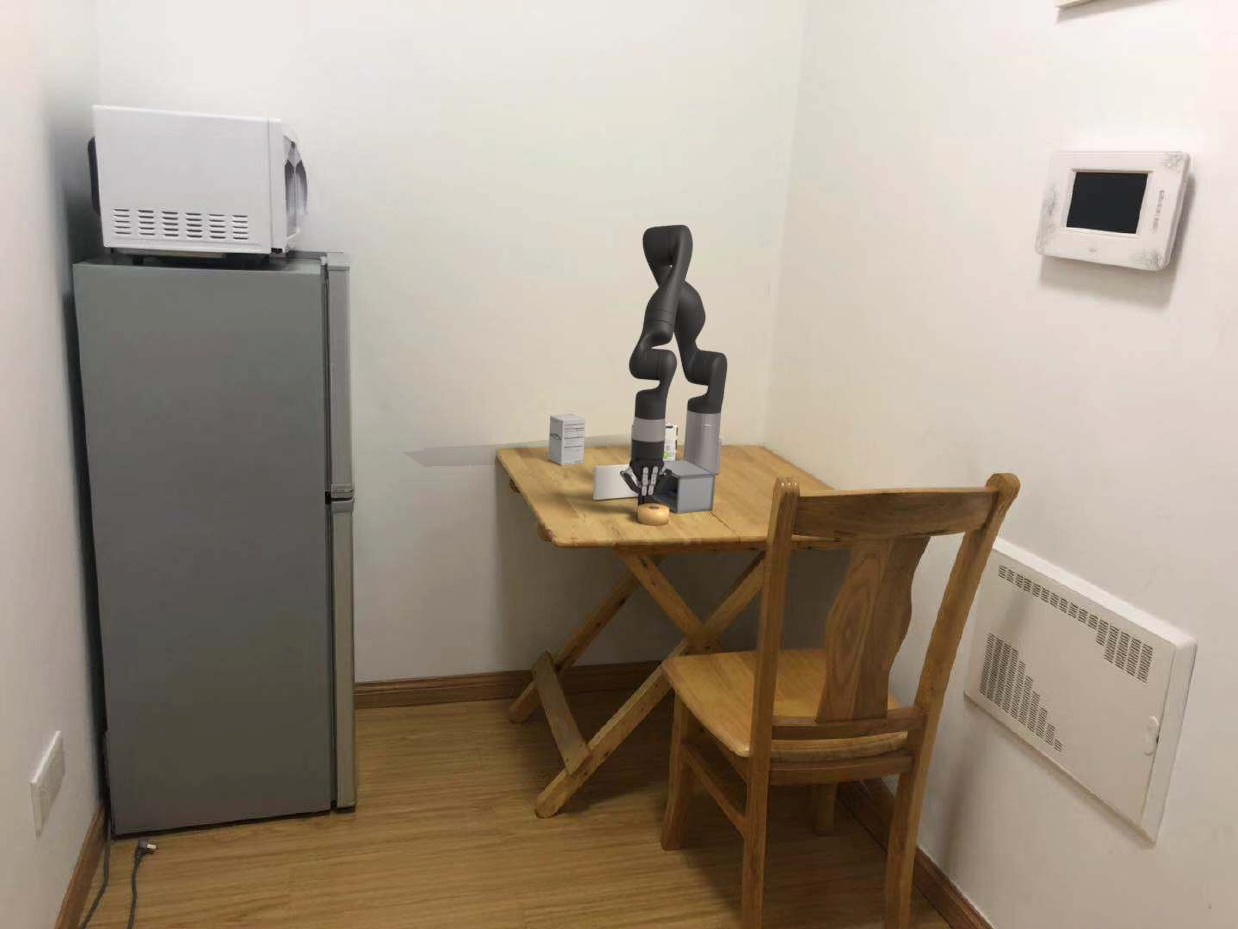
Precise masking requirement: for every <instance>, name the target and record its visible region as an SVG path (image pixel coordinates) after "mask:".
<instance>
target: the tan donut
mask: <svg viewBox="0 0 1238 929" xmlns="http://www.w3.org/2000/svg"><path fill="white" fill-rule="evenodd" d="M637 507H638V506H637ZM669 517H670V509H669V508H668V507H667V506H664V505H662V504H661V503H652V502H651V503H647V504H642V505H639V507H638V511H637V522H639V521H640V522H641V524H643V523H644V524H643V525H646V524H647V526H648V525H649V526H654V525H657V526H658V525H659V526H665V525H667V524H669V519H670V518H669ZM640 522H639V523H640ZM657 526H656V527H657Z"/></svg>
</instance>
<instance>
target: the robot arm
mask: <svg viewBox="0 0 1238 929" xmlns="http://www.w3.org/2000/svg"><path fill="white" fill-rule="evenodd" d="M642 234H643V235H642V249H643V254H644V256H645V259H646V263H647V265H648V268H649V270H650V271H651V273H652V274H651V275H652V276H653V278H654V280H655V283H656V285H657V289H656V290H655V291H654V292H653V294H652V295H651V297H650V298H649V300H648V301H647V304H646V306H645V311H644V316H643V322H642V323H643V324H642V330H641V334H640V336H639V339H637V340H638V341H637V343H636V345H635V347H634V348H633V350H632V352H631V355H630V357H629V361H628V369H629V372H630V375H631V376H632V377H633V378H634V379H637V380H645V381H657V382H658V381H659V382H658V385H657V386H656V387H654V388H648V389H640V390H638V391H637V392H636V395H635V400H634V417H633V421H632V425H633V428H632V427H631V430H632V445H631V444H630V455H631V461H630V460H629V462H628V464H629V467H628V468H627V469H626V470H625V471H621V472H620V475H621V477H622V478H623V479H624V481H625V482H626V484H627V485H628V486H629V488H630V489H631V490H632V491H634V492H635V493H638V496H637V507H639V505H642V504H647V503H652V500H653V499H652V494H653V493H654V492H656V491H657V492H658V491H660V489H661V488H662V487H663V485H664V484H665V483H666V481H667V480H668V478H669V477H670V476H671V474H672V470H670V469H668V468H667V467H665V466H664V461H663V457H664V447H665V435H666V424H665V423H666V414H667V400H668V394H669V392H670V391H669V390H670V388H671V385H672V381H673V380H674V376H675V374H676V371H677V367H678V358H677V356H676V354H675V353H674V351H672V350H671V349H667V348H666V349H662V348H655V347H660V346H665V345H667V344H670V343H671V341H672V339H673V337H674V338H675V341H676V344H677V348H678V355H679V357H680V362H681V363H680V364H681V368H682V371H683V375H684V378H685V379H686V381H687V382H689V383H690V384H693V385H699V386H705V387H707V389H706V392H705V393H703V394H701V395H698V396H694V397H690V398H689V399H688V400H687V405H686V416H685V418H686V419H685V428H684V429H685V433H684V446H683V456H682V457H683V458H682V460H688V461H690V462H692V463H694V464H696V465H698V466H700V467H702V468H705V469H707V470H709V471H711V472H713V473H715V474H716V475H719V474H720V468H721V458H722V456H721V455H722V444H723V440H722V439H721V438H720V432H721V431H720V429H721V419H722V410H723V408H722V406H723V402H724V398H725V397H724V396H725V390H726V381H727V374H728V359H727V355H726V354H725V353H723V352H718V351H714V350H713V351H712V350H703V349H700V348H699V347H698V346H697V339H698V337H699V335H700V333H701V331H702V330H703V328H704V326H705V323H706V318H707V317H706V315H707V314H706V311H705V310H706V309H705V306H704V303H703V300H702V297H701V295H700V293H699V292H698V291H697V289H695V287H694V286H693V285H692V284H690V283H689V282H688V281H686V278H687V275H688V271H689V268H690V265H691V260H692V257H693V250H694V241H693V235H692V232H691V230H690V228H689V227H688V226H687V225H685V224H670V225H661V226H660V225H658V226H652V227H648V228H647V229H646V230H645V231H644V233H642ZM632 472H633V474H634V475H635V477H636V483H637V485H636V484H635V482H634V481H633V479H632V477H633V475H632ZM659 473H660V474H659ZM658 474H659V475H658ZM657 476H658V477H657ZM656 477H657V478H656Z"/></svg>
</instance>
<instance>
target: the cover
mask: <svg viewBox="0 0 1238 929" xmlns="http://www.w3.org/2000/svg"><path fill="white" fill-rule="evenodd" d="M628 467H629V463H628V464H614V465H613V464H612V465H596V466H594V470H593V472H594V473H593V491H592V492H593V493H592V499H593V500H595V501H596V500H607V499H609V500H610V499H620V498H633V497H638V493H635V492H634V491H632V490H631V489H630V488H629V486H628V485H627V484H626V482H625V481H624V479H623V478H622V477H621V475H620V472H621V471H625V470H626V469H627V468H628ZM632 475H633V477H632V479H633V481H634V482H635V484H636V485H637V483H636V477H635V475H634V474H633V472H632Z"/></svg>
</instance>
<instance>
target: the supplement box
mask: <svg viewBox="0 0 1238 929" xmlns="http://www.w3.org/2000/svg"><path fill="white" fill-rule="evenodd" d="M585 433H586V419H585V418H582V417H580V416H577V415H575V414H573V413H566V414H565V413H564V414H563V413H562V414H552V415H550V416H549V436H548V438H549V439H548V456H547V457H548V461H549V460H550V461H552V462H554V463H556V464H558V465H560V466H571V465H580V464H579V463H581V464H583V463H584V456H585V455H584V454H585V452H584V450H585ZM577 463H578V464H577ZM569 464H570V465H569Z"/></svg>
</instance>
